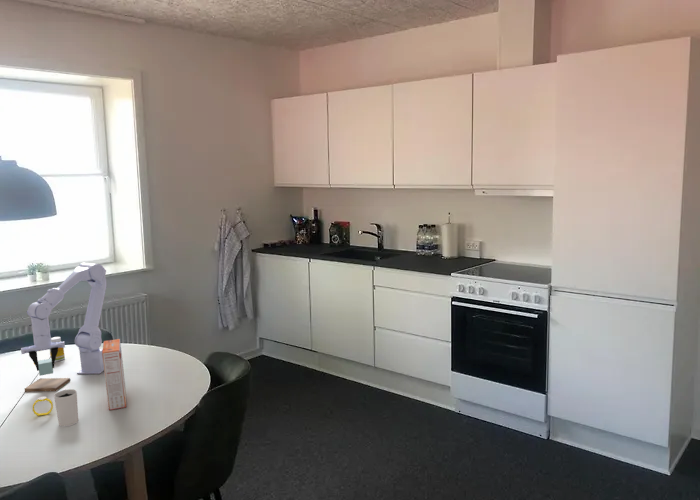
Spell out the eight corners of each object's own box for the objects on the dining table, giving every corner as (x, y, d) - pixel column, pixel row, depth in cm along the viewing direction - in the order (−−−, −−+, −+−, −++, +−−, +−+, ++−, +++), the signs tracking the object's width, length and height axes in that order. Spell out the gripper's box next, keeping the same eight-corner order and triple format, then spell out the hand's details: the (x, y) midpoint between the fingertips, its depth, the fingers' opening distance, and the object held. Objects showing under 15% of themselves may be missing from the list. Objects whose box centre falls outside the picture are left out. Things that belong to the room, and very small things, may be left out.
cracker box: (108, 396, 211) (102, 340, 208) (126, 393, 213) (121, 338, 210) (107, 411, 198) (101, 352, 195) (126, 407, 200) (120, 349, 197)
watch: (33, 418, 195) (31, 401, 194) (33, 415, 197) (31, 398, 196) (53, 414, 197) (51, 397, 196) (53, 411, 200) (51, 394, 199)
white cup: (54, 422, 191) (50, 393, 189) (75, 416, 195) (72, 387, 194) (61, 429, 186) (58, 399, 184) (83, 422, 190) (79, 393, 189)
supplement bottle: (67, 357, 255) (64, 336, 254) (60, 361, 250) (57, 340, 248) (55, 357, 256) (53, 336, 254) (48, 361, 250) (45, 340, 249)
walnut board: (70, 381, 227) (69, 378, 227) (56, 391, 217) (55, 388, 217) (40, 381, 228) (40, 378, 228) (24, 391, 218) (24, 388, 218)
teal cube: (52, 369, 224) (51, 358, 224) (52, 373, 221) (51, 361, 220) (39, 372, 222) (38, 360, 222) (39, 375, 219) (38, 364, 218)
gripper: (62, 328, 226) (66, 361, 228) (19, 334, 219) (24, 369, 221) (63, 332, 220) (67, 367, 222) (19, 339, 213) (23, 374, 215)
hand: (45, 368), depth 221 cm, fingers closed on teal cube, 4 cm apart
